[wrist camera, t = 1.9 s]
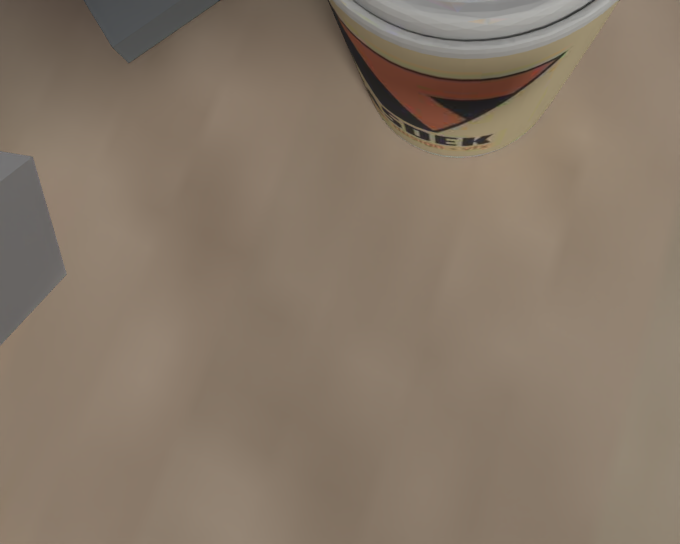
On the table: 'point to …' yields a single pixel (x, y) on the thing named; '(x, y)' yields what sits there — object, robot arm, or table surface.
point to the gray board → (142, 21)
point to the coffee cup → (466, 64)
